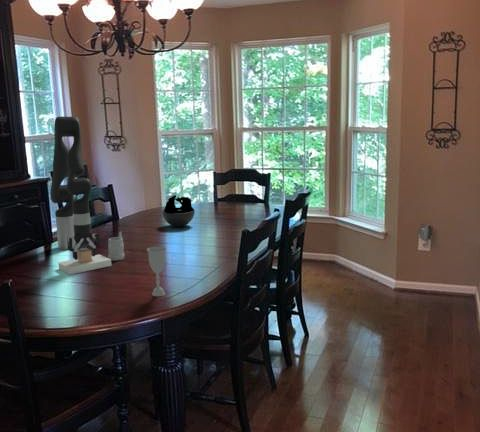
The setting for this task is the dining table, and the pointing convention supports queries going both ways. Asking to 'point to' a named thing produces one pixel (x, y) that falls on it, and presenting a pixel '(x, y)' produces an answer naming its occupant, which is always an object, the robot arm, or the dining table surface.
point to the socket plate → (84, 264)
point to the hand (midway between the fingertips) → (84, 257)
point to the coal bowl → (178, 211)
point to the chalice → (157, 266)
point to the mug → (116, 248)
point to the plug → (84, 255)
